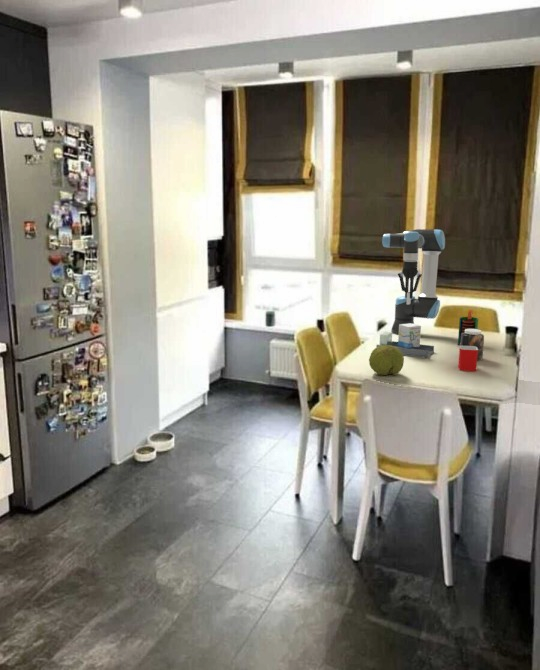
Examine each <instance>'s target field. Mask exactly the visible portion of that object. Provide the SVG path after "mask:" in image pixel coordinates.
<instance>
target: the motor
mask: <svg viewBox="0 0 540 670" xmlns="http://www.w3.org/2000/svg"><path fill="white" fill-rule="evenodd" d="M473 314H474V311H473V309H469V310H468V312H467V316H461V317H459V323H458V324H459V325H458V336H457V337H458V339H457V345H459V346H460V341H461V334H462V333H464V332H465V329H478V328H479V318H478V317H474V316H473ZM478 330H479V329H478Z"/></svg>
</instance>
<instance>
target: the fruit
mask: <svg viewBox="0 0 540 670" xmlns="http://www.w3.org/2000/svg"><path fill="white" fill-rule="evenodd" d="M404 356H405V355H403V354H402V352H401V350H400V349H398V348H397V347H394V346H390V345H383V346H379V347H377V348H376V347H375V348H374V349H373V350H372V351H371V353H370V356H369V359H368V362H369V366H370V368H371V369H372V370H373V372H374V373H376V374H377V375H379V376H387V375H395V374H398V373H400V372H401V370H402V369H403V367H404V362H405V357H404Z"/></svg>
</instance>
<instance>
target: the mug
mask: <svg viewBox="0 0 540 670" xmlns="http://www.w3.org/2000/svg"><path fill="white" fill-rule="evenodd" d="M458 348H459V350H458V352H459V353H458V364H457V367H458V369H459V371H461V370H463V371H462V372H476V371H477V364H478V363H477V362H478V361H477V353H478V348H477V347H475V346H460V345H459V346H458Z"/></svg>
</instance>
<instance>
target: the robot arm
mask: <svg viewBox="0 0 540 670" xmlns="http://www.w3.org/2000/svg"><path fill="white" fill-rule="evenodd" d="M381 243H382V246H383V247H384V248H388V249H389V248H392V249H393V248H394V249H395V248H398V249H400V248H401V249H403V262H402V263H403V264H402V270H401V272H399V273H397V275H398V278H399V281H400V288H401V291H402V292H404V296H403V295H402V296H399V297H397V298H396V299H395V305H394V321H393V324H392V327H391V331H390V332H392V334H394V335H399V325H400V324H409V323H411V324H415V322H414V321H415V320H414V319H415V318H419V319H420V318H421V319H430V320H431V319H436V318H437V316H438V314H439V311H440V307H441V300H439V299H438V296H437V294H436V291H437V290H436V289H437V278H438V277H437V276H438V267H439V255H440V254H441V253H442V251H443V250H444V249H445V247H446V236H445V233H444V231H443V230H442V229H435V228H434V229H433V228H431V229H430V228H429V229H426V228H425V229H424V228H423V229H422V228H418V229H411V230H406V231H403V232H401V233H384V234H383V235H382V241H381ZM419 249H421V253H422V254H423V263H422V264H423V266H422V273H420V272H419V271H418V260H419V258H418V257H419ZM415 277H416V279H415ZM404 278H405V279H404ZM420 279H421V289H420V294H419V295H417V298H416V296H415V295H414V292H417V291H418V290H417V289H418V288H419V284H420ZM404 280H405V281H404ZM414 280H415V283H414Z"/></svg>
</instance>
